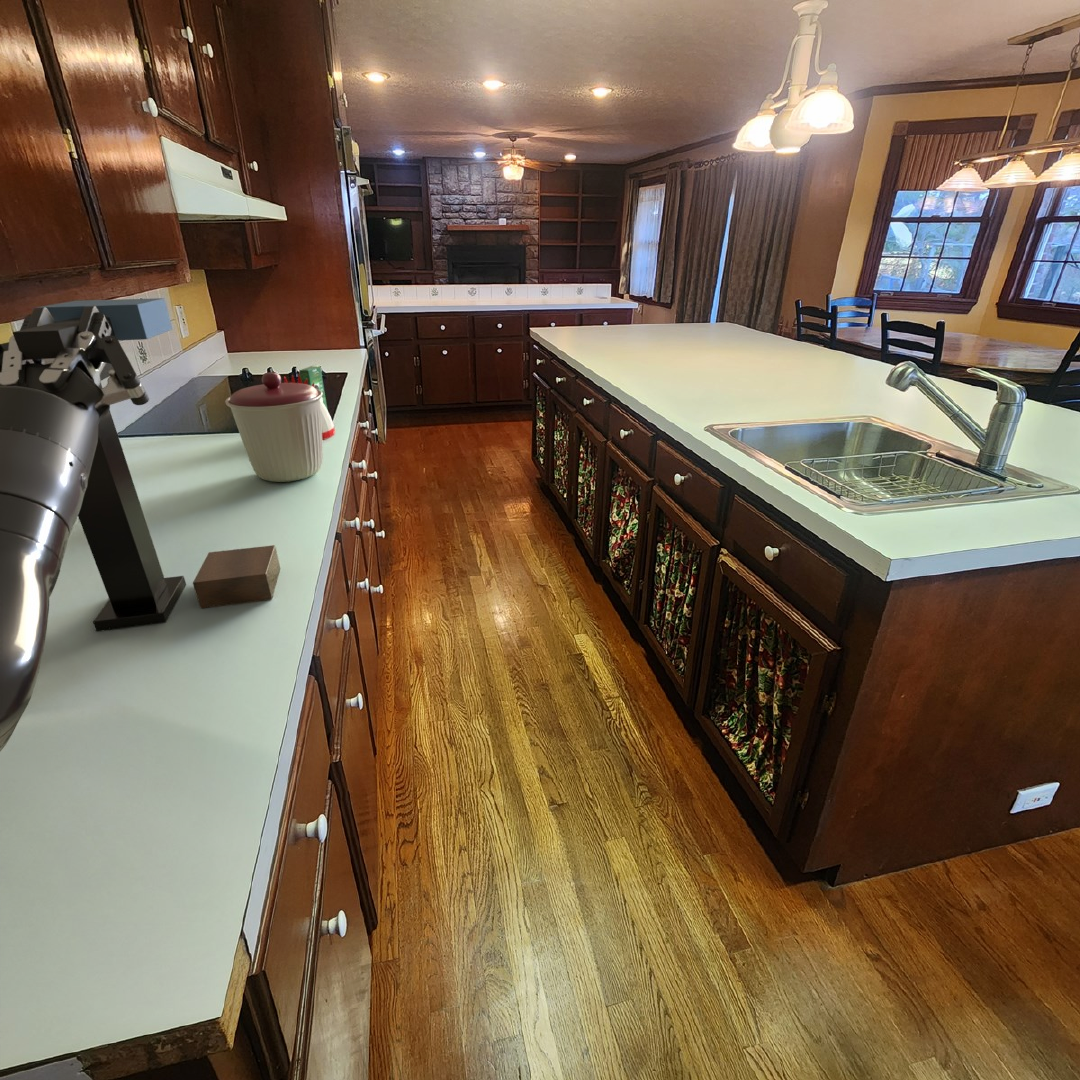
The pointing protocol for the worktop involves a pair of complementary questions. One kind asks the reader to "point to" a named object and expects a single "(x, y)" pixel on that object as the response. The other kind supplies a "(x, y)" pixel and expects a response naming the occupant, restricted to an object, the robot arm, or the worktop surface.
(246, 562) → the brown wooden block
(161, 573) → the stand
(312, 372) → the coffee box
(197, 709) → the worktop surface
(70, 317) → the back pad
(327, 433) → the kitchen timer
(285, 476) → the canister
